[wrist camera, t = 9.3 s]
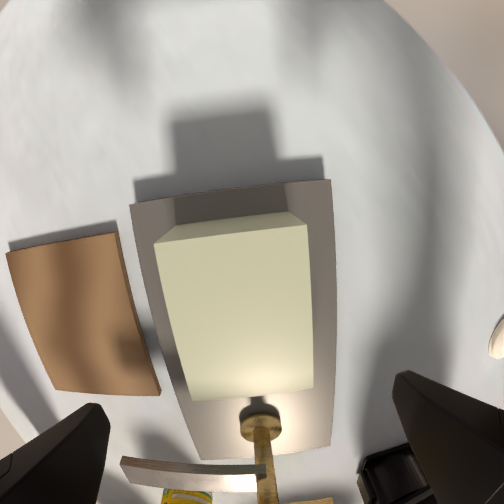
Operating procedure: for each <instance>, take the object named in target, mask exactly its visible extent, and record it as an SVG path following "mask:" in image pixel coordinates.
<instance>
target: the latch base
mask: <svg viewBox="0 0 504 504" xmlns="http://www.w3.org/2000/svg"><path fill="white" fill-rule="evenodd" d="M129 207H130V213H131V219H132V225H133V231H134V236H135V242H136V247H137V252H138V257H139V262H140V267H141V271H142V276H143V281H144V285H145V289H146V294H147V298H148V302H149V306H150V310H151V314H152V318H153V321H154V325H155V329H156V332H157V336H158V340H159V343H160V347H161V350H162V353H163V357H164V360H165V363H166V366H167V370H168V373H169V376H170V379H171V382H172V385H173V388H174V391H175V394H176V397H177V400H178V403H179V405H180V408H181V411H182V414H183V416H184V419H185V422H186V424H187V427H188V430H189V432H190V435H191V437H192V440H193V442H194V445H195V447H196V450H197V452H198V454H199V457H200V459H201V460H223V459H240V458H252V457H255V456H254V443H253V442H250V441H247V440H245V439H244V438H243V437H242V436H241V433H240V424H241V421H242V420H243V419H244V418H245V417H246V416H248V415H250V414H253V413H258V412H267V413H271V414H274V415H276V416H277V417H278V418H279V419H280V421H281V426H282V432H281V434H280V435H279V436H278V437H277V438H276V439H274V440H272V441H271V446H272V454H273V455H279V454H286V453H293V452H299V451H305V450H311V449H316V448H321V447H326V446H330V443H331V432H332V421H333V408H334V392H335V372H336V341H337V283H336V251H335V230H334V214H333V200H332V188H331V179H321V180H308V181H296V182H286V183H275V184H266V185H256V186H248V187H239V188H231V189H223V190H215V191H208V192H201V193H194V194H187V195H181V196H174V197H168V198H162V199H156V200H150V201H144V202H138V203H134V204H130V205H129ZM287 211H288V212H290V213H291V214H293V215H294V216H295V217H297V218H298V219H300V220H301V221H302V222H304V223H305V224H307V232H308V246H309V261H310V279H311V299H312V326H313V388H310V389H305V390H298V391H292V392H285V393H278V394H271V395H263V396H254V397H244V398H234V399H221V400H204V401H192V398H191V395H190V392H189V389H188V385H187V382H186V379H185V375H184V372H183V368H182V365H181V361H180V358H179V354H178V350H177V347H176V343H175V339H174V335H173V331H172V327H171V323H170V319H169V315H168V311H167V307H166V302H165V298H164V293H163V289H162V284H161V280H160V275H159V270H158V265H157V260H156V255H155V249H154V243H155V242H156V241H157V240H159V239H160V238H161V237H162V236H163V235H165V234H166V233H167V232H168V231H170V230H171V229H172V228H173V227H175V226H176V225H182V224H189V223H196V222H204V221H211V220H219V219H227V218H235V217H243V216H252V215H260V214H269V213H278V212H287Z"/></svg>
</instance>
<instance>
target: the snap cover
mask: <svg viewBox="0 0 504 504" xmlns="http://www.w3.org/2000/svg"><path fill="white" fill-rule="evenodd" d="M154 249H155V255H156V260H157V265H158V270H159V275H160V280H161V284H162V289H163V293H164V298H165V302H166V307H167V311H168V315H169V319H170V323H171V327H172V331H173V335H174V339H175V343H176V347H177V350H178V354H179V358H180V361H181V365H182V368H183V372H184V375H185V379H186V382H187V385H188V389H189V392H190V395H191V398H192V401H204V400H221V399H234V398H244V397H254V396H263V395H271V394H278V393H285V392H292V391H298V390H305V389H310V388H313V326H312V299H311V279H310V261H309V246H308V232H307V224H305V223H304V222H302V221H301V220H300V219H298V218H297V217H295V216H294V215H293V214H291V213H290V212H288V211H287V212H278V213H269V214H260V215H252V216H243V217H235V218H227V219H219V220H211V221H204V222H196V223H189V224H182V225H176V226H175V227H173V228H172V229H171V230H170V231H168V232H167V233H166V234H165V235H163V236H162V237H161V238H160V239H159V240H157V241H156V242H155V243H154Z"/></svg>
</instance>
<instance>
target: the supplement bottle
mask: <svg viewBox="0 0 504 504" xmlns="http://www.w3.org/2000/svg"><path fill="white" fill-rule="evenodd" d="M161 504H212V494H211V493H210V492H204V491H188V490H177V489H167V488H164V491H163V496H162V501H161Z"/></svg>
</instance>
